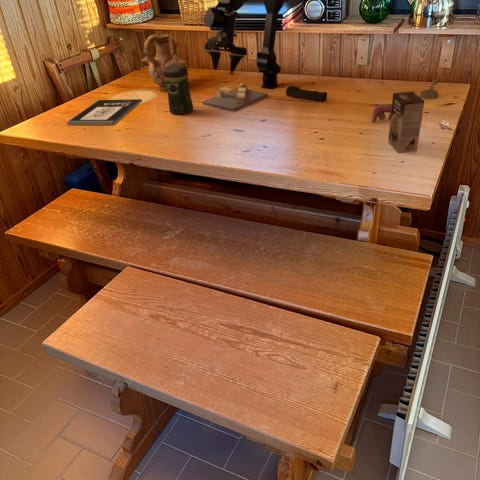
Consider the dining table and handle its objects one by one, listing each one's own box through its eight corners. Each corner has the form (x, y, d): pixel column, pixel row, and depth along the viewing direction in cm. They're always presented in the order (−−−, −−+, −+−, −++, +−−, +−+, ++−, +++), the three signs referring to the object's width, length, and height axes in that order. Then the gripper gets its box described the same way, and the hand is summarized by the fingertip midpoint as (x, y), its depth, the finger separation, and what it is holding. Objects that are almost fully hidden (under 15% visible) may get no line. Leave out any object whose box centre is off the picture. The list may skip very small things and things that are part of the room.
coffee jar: (196, 109, 193) (190, 63, 183) (186, 116, 187) (179, 69, 177) (177, 107, 197) (169, 62, 186) (167, 114, 191) (158, 68, 181)
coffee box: (387, 142, 151) (392, 92, 142) (406, 139, 151) (412, 90, 142) (397, 153, 143) (403, 102, 134) (417, 151, 144) (425, 99, 134)
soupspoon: (418, 101, 182) (435, 103, 179) (419, 93, 180) (437, 95, 177) (426, 82, 197) (443, 84, 195) (428, 74, 195) (445, 76, 193)
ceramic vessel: (191, 90, 216) (182, 32, 202) (150, 97, 213) (139, 39, 198) (184, 80, 230) (176, 26, 216) (146, 86, 227) (135, 32, 213)
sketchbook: (142, 102, 210) (141, 97, 209) (114, 127, 186) (112, 122, 185) (99, 102, 215) (98, 97, 214) (66, 126, 191) (64, 121, 190)
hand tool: (327, 100, 189) (328, 89, 186) (322, 103, 187) (322, 92, 184) (290, 94, 200) (289, 83, 197) (284, 97, 197) (284, 86, 195)
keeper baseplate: (238, 89, 210) (237, 78, 207) (268, 96, 199) (267, 84, 196) (202, 104, 198) (201, 92, 195) (232, 111, 187) (231, 99, 184)
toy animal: (400, 125, 166) (402, 104, 164) (400, 123, 161) (402, 103, 160) (372, 123, 169) (374, 104, 167) (371, 122, 164) (373, 102, 163)
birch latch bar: (238, 89, 206) (238, 85, 205) (247, 89, 206) (247, 84, 204) (235, 103, 191) (235, 98, 190) (245, 102, 191) (245, 97, 190)
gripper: (196, 25, 182) (193, 67, 188) (230, 29, 171) (226, 74, 177) (216, 28, 190) (212, 68, 196) (250, 32, 179) (245, 75, 185)
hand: (223, 71), depth 188 cm, fingers open, 9 cm apart
